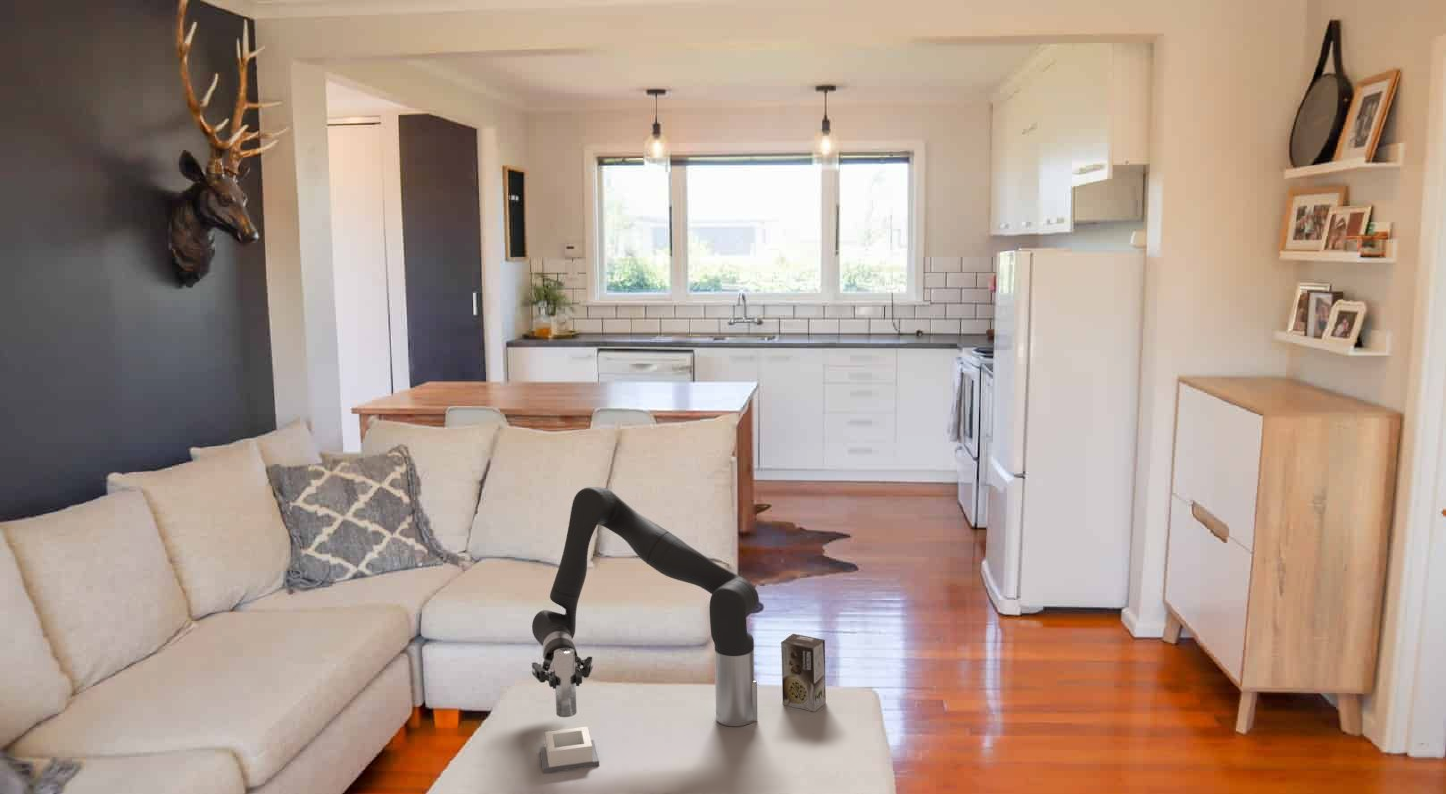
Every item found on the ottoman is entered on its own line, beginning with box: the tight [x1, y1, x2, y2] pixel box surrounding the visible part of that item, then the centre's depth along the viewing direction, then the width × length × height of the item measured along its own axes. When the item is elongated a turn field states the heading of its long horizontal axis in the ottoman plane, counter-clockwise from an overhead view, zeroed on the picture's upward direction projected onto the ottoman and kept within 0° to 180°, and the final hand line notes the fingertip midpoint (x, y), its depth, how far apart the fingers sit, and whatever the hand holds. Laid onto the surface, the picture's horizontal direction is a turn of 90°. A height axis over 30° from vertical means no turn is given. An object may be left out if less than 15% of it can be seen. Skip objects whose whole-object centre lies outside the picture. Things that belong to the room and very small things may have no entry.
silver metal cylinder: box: [554, 648, 578, 718], centre depth 223 cm, size 4×4×14 cm
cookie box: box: [780, 633, 827, 712], centre depth 249 cm, size 9×6×16 cm
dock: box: [539, 726, 600, 774], centre depth 225 cm, size 12×10×4 cm
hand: (566, 682), depth 220 cm, fingers closed on silver metal cylinder, 4 cm apart
